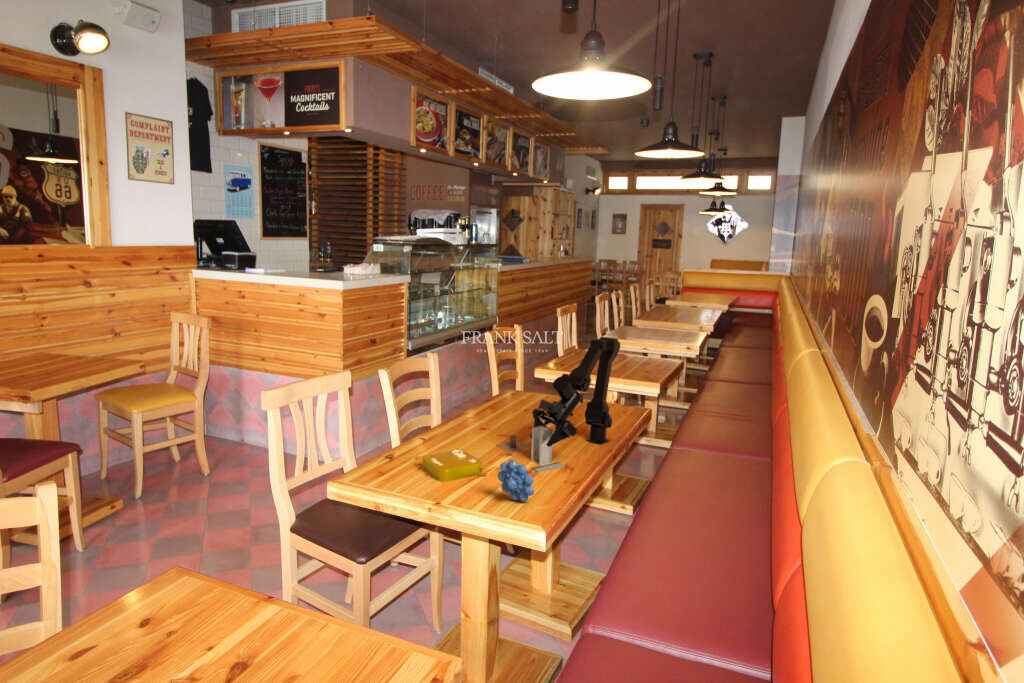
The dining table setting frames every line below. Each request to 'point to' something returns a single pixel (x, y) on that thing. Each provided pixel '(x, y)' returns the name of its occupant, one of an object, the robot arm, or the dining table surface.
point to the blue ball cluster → (516, 481)
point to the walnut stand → (514, 446)
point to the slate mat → (548, 467)
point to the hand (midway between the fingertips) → (539, 442)
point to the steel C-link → (541, 445)
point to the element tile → (452, 465)
